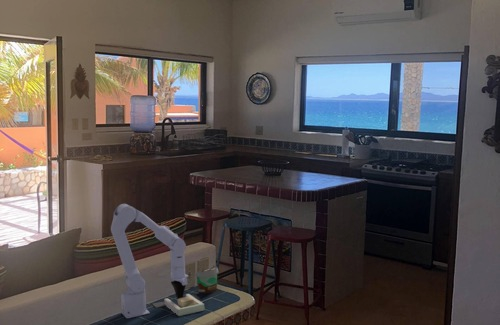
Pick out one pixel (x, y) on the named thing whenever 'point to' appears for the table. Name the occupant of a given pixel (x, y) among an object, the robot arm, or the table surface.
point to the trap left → (159, 304)
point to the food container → (207, 280)
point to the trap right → (195, 296)
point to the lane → (185, 310)
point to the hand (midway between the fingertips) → (179, 298)
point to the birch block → (185, 302)
